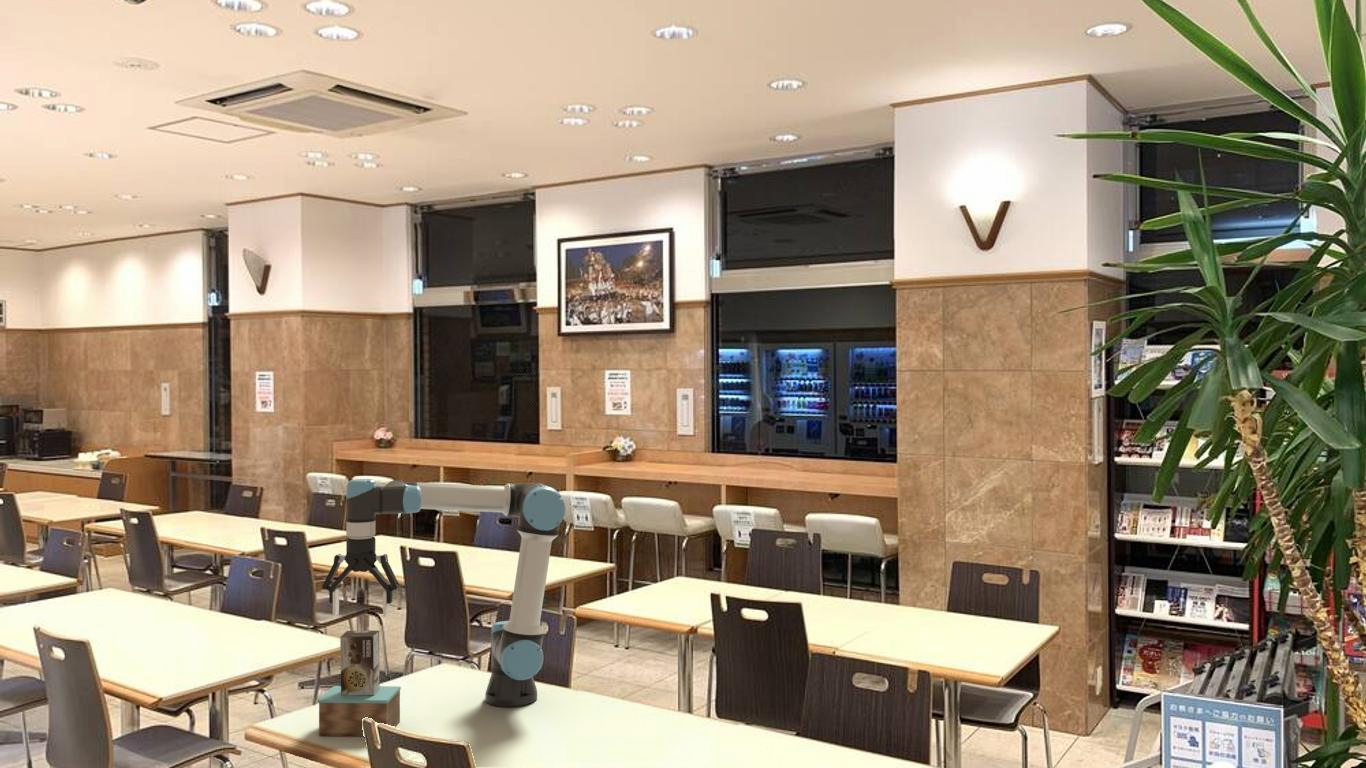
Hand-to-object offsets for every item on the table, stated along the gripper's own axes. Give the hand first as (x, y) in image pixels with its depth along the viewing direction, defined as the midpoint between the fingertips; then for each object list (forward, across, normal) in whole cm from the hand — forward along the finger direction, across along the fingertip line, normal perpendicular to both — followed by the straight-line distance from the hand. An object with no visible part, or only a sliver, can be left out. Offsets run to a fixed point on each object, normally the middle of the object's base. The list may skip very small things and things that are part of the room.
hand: (360, 615), depth 283 cm
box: (+31, 0, 0) cm, 31 cm away
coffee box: (+21, 0, 0) cm, 21 cm away
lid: (+22, 0, 0) cm, 22 cm away
